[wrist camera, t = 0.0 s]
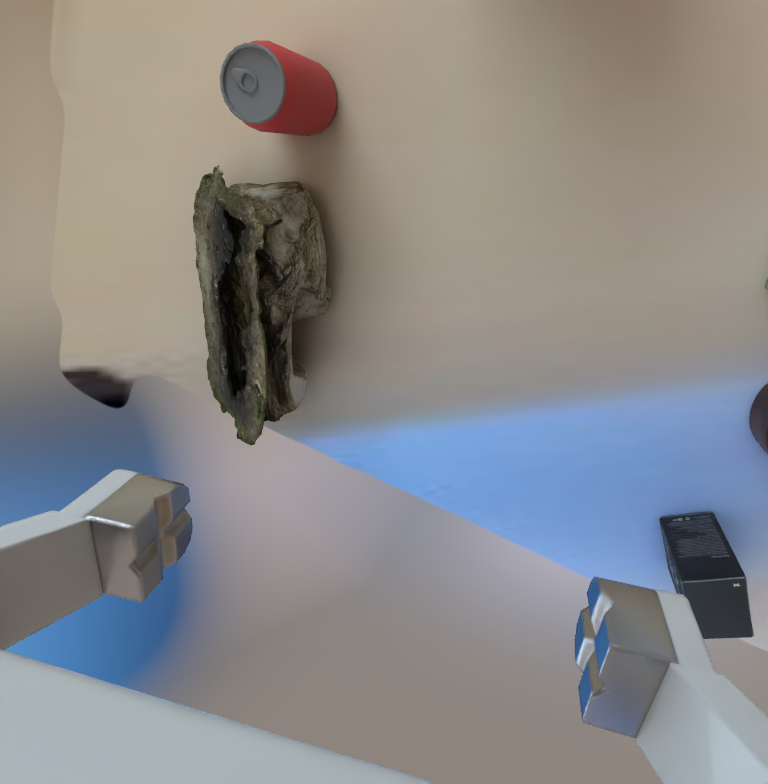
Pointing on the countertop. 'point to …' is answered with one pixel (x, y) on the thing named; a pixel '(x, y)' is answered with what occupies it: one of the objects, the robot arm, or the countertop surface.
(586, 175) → the countertop surface
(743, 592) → the box
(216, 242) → the hollow geode rock
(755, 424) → the cylinder
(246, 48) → the beer can
